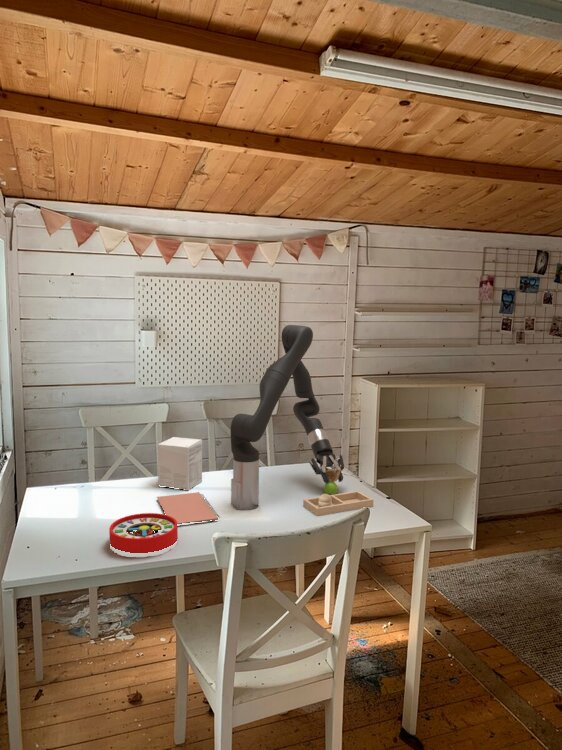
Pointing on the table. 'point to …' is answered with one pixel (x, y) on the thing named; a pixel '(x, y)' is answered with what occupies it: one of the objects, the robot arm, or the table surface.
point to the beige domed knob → (325, 500)
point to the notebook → (188, 508)
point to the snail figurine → (332, 481)
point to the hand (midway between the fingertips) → (334, 481)
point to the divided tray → (339, 503)
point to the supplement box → (180, 463)
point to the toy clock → (143, 533)
